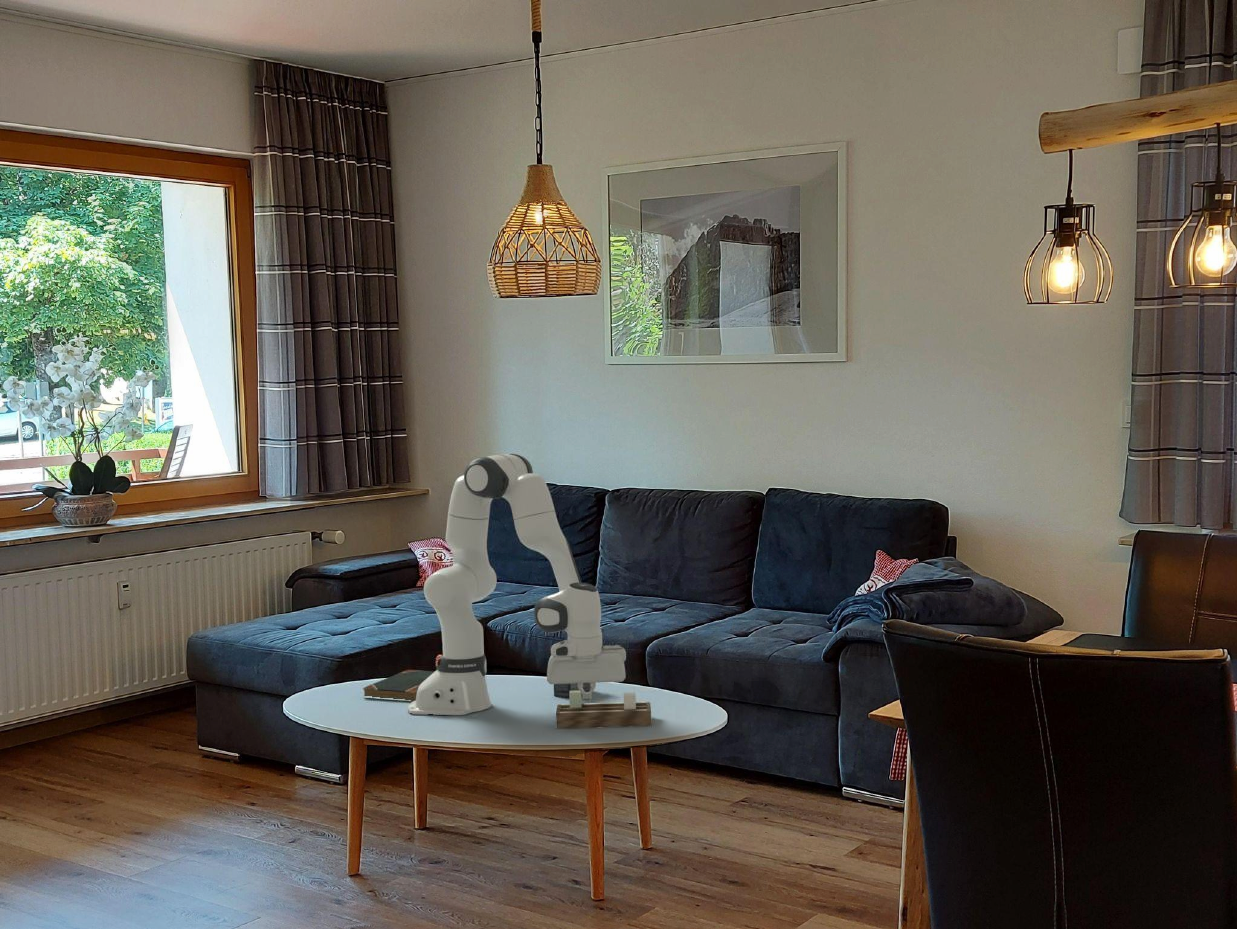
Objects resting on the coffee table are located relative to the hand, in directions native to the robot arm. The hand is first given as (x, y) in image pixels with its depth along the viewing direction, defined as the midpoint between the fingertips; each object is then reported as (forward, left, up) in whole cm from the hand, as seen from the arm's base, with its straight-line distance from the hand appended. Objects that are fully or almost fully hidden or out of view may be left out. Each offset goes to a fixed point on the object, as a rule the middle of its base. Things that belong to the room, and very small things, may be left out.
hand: (587, 699), depth 325 cm
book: (-52, +41, -6) cm, 66 cm away
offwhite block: (+11, -4, -3) cm, 12 cm away
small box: (-5, +31, -6) cm, 32 cm away
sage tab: (-3, 0, -3) cm, 5 cm away
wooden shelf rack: (+4, -2, -6) cm, 7 cm away
